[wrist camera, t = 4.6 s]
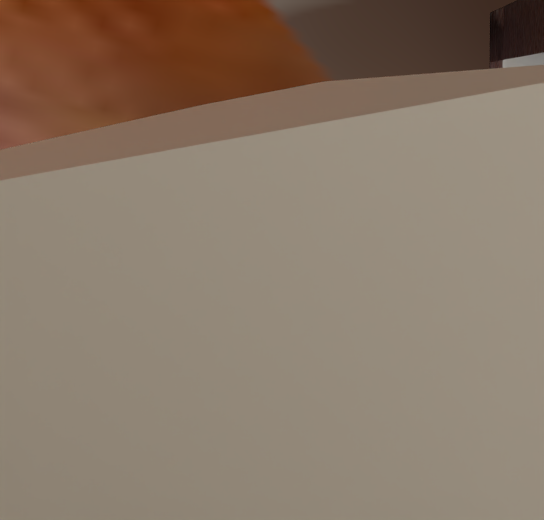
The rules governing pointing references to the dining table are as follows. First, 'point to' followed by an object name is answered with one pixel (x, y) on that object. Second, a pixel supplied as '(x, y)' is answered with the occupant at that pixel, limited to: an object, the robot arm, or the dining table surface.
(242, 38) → the dining table surface
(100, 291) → the door panel
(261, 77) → the dining table surface
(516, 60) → the door track
